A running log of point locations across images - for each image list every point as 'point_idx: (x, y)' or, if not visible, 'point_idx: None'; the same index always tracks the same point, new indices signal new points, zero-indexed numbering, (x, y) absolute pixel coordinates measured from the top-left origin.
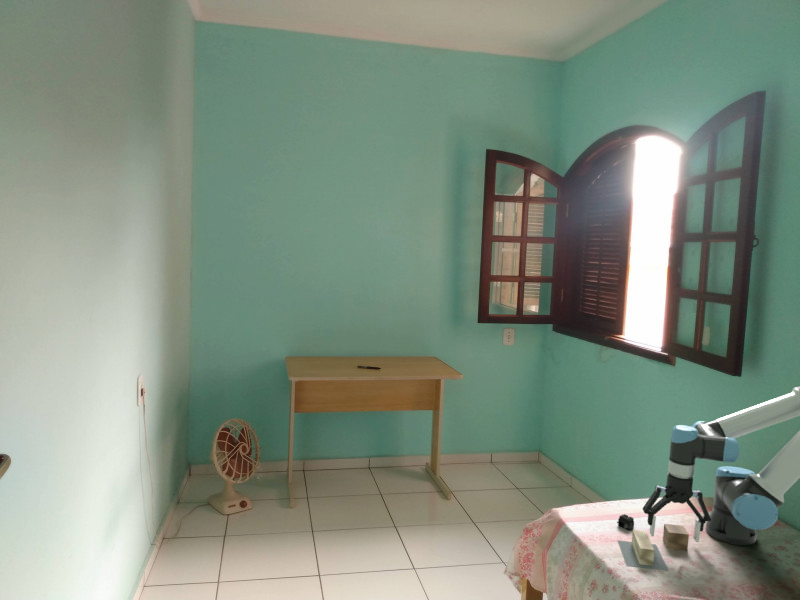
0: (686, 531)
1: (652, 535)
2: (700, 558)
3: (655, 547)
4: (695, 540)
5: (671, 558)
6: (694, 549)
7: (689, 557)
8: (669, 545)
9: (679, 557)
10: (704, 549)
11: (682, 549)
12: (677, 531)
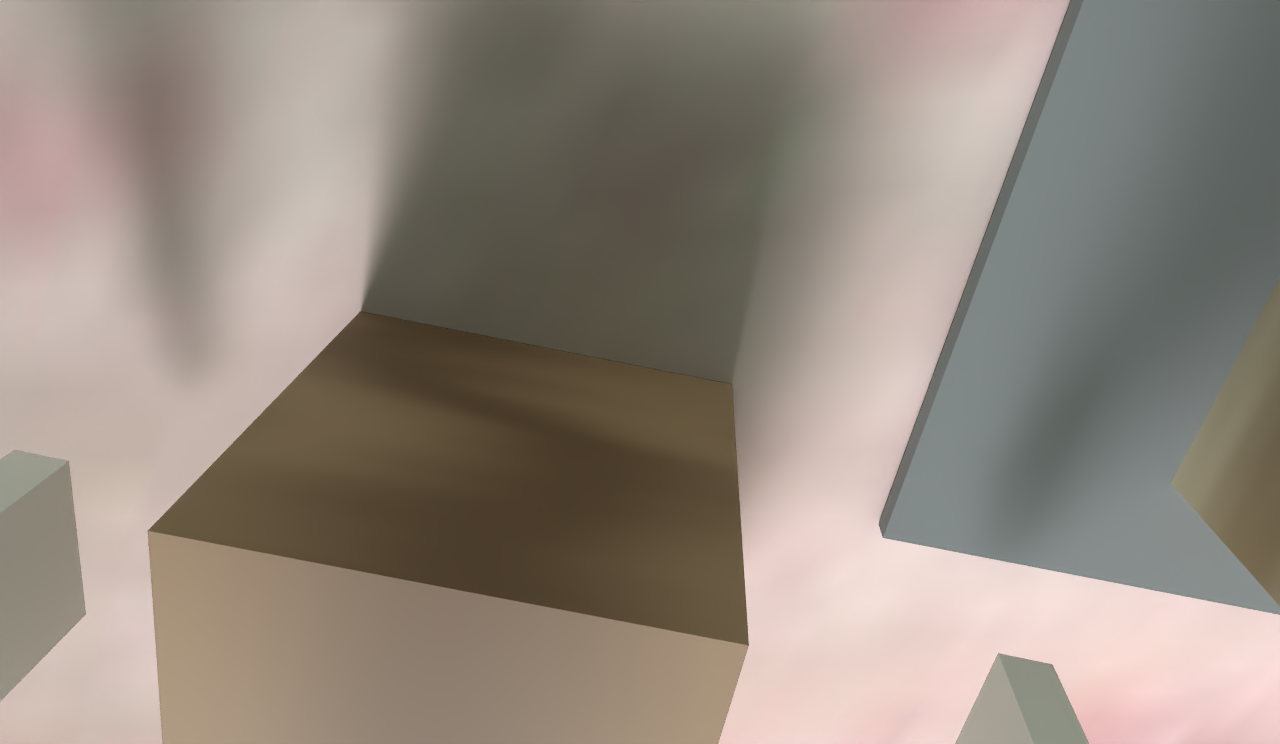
0: (173, 684)
1: (1040, 673)
2: (162, 64)
3: (966, 436)
4: (70, 511)
5: (827, 36)
6: (190, 409)
7: (390, 99)
8: (699, 426)
9: (616, 90)
10: (6, 411)
11: (442, 348)
12: (444, 687)
